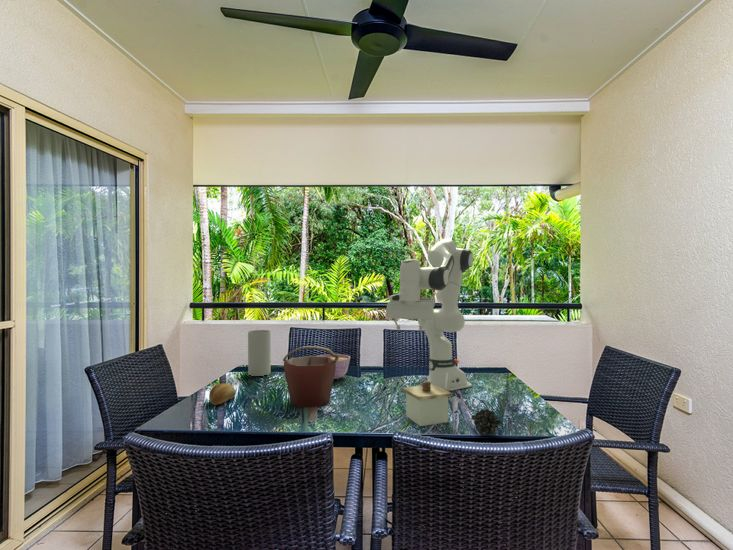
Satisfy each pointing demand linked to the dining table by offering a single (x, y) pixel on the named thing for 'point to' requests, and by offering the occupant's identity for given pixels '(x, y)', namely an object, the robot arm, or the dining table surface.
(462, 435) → the dining table surface
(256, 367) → the cylinder vase
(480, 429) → the pine cone
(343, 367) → the bowl of food
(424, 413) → the bin
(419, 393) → the lid
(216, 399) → the bread roll
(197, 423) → the dining table surface
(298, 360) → the bucket
